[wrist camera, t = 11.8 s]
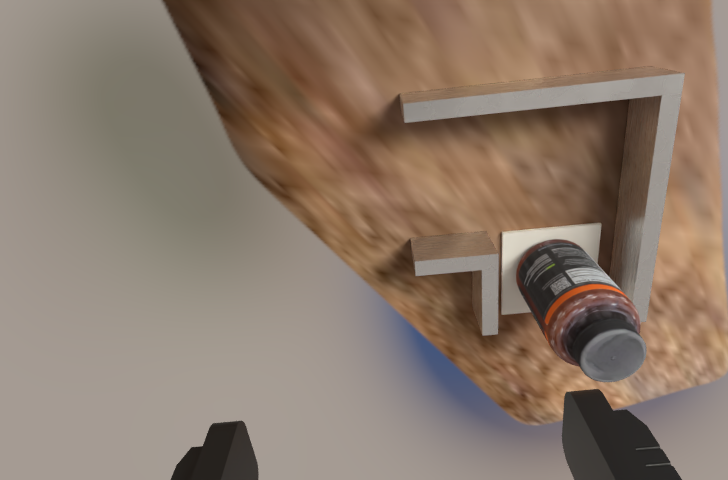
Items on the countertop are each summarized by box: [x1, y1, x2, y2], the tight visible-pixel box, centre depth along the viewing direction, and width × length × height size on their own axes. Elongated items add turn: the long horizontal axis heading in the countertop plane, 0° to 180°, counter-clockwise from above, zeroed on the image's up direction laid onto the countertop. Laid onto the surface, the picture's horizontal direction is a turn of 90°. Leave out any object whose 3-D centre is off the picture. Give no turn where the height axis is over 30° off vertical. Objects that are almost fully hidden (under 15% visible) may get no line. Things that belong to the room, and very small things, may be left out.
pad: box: [501, 223, 602, 315], centre depth 41 cm, size 8×8×1 cm
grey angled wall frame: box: [399, 66, 685, 336], centre depth 37 cm, size 18×17×4 cm
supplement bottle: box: [516, 239, 646, 382], centre depth 35 cm, size 6×6×11 cm
